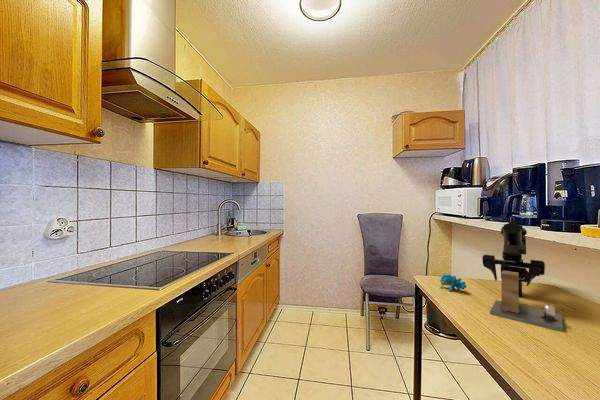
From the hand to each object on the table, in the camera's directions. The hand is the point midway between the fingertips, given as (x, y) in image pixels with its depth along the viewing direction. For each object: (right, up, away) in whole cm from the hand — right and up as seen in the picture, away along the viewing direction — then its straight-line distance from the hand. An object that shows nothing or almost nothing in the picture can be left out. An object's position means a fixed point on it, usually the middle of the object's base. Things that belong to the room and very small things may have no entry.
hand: (511, 282), depth 97 cm
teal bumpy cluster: (-11, -10, +19) cm, 24 cm away
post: (-5, -8, -6) cm, 11 cm away
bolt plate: (-1, -9, -8) cm, 12 cm away
